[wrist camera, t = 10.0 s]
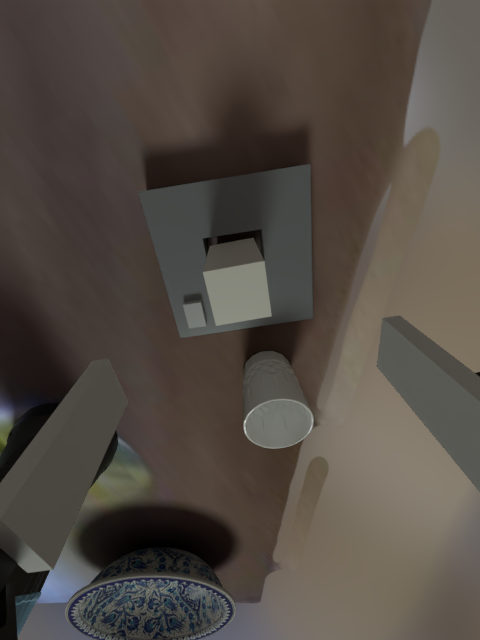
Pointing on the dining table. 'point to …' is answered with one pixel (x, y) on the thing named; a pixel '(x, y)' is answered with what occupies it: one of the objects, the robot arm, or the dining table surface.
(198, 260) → the socket plate
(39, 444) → the robot arm
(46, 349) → the dining table surface
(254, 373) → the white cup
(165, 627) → the ceramic bowl
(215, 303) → the plug
